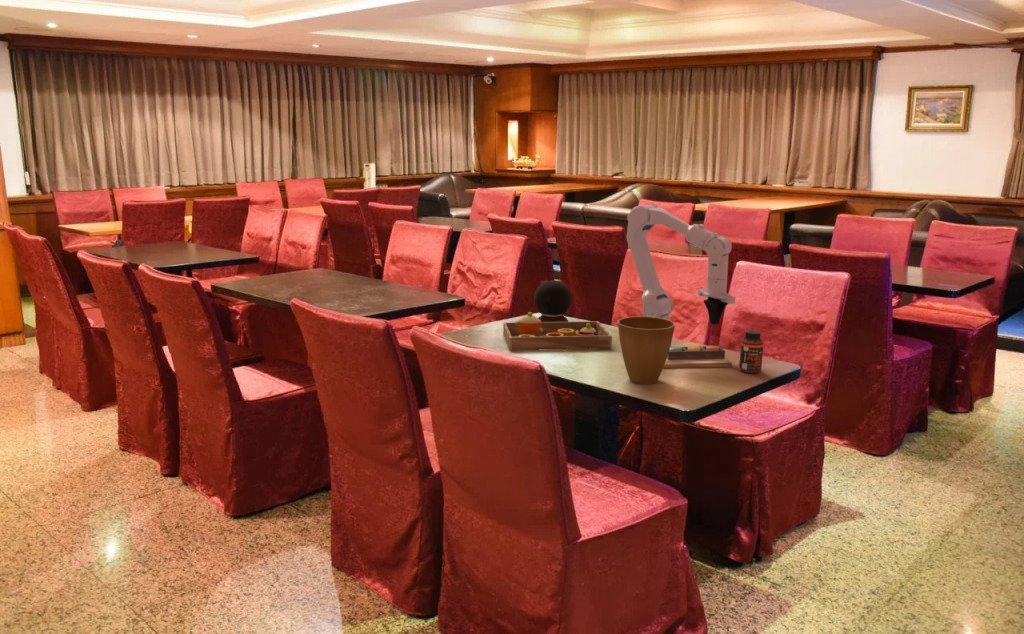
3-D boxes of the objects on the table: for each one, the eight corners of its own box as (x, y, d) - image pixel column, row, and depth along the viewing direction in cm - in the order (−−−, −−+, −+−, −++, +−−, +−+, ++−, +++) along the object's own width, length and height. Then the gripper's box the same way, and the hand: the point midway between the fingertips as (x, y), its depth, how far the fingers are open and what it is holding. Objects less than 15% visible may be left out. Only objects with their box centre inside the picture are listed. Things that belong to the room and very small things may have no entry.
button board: (650, 355, 250) (650, 343, 250) (715, 354, 252) (716, 342, 251) (662, 368, 237) (663, 355, 236) (731, 366, 239) (732, 354, 238)
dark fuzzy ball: (533, 318, 302) (534, 277, 299) (570, 319, 301) (571, 277, 298) (533, 326, 289) (533, 283, 286) (571, 327, 288) (572, 283, 285)
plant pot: (604, 380, 224) (606, 321, 221) (638, 370, 235) (640, 314, 231) (649, 392, 214) (652, 330, 211) (683, 381, 224) (686, 322, 221)
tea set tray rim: (503, 334, 276) (503, 322, 276) (597, 332, 279) (598, 321, 279) (509, 350, 255) (509, 337, 255) (611, 348, 258) (611, 336, 258)
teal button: (667, 354, 245) (667, 346, 245) (679, 354, 246) (679, 346, 245) (670, 358, 242) (671, 349, 241) (682, 357, 242) (683, 349, 242)
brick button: (703, 354, 246) (704, 345, 246) (715, 353, 247) (716, 345, 246) (707, 357, 243) (708, 348, 242) (720, 357, 243) (720, 348, 243)
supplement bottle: (746, 374, 230) (748, 334, 228) (735, 369, 236) (737, 330, 234) (765, 373, 232) (768, 333, 230) (753, 367, 238) (756, 328, 235)
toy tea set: (514, 350, 257) (514, 319, 255) (510, 339, 272) (510, 309, 270) (598, 349, 258) (599, 319, 256) (590, 338, 273) (591, 309, 271)
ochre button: (685, 354, 246) (686, 346, 245) (697, 354, 246) (698, 346, 246) (689, 357, 242) (689, 349, 242) (701, 357, 243) (701, 349, 242)
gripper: (690, 275, 250) (688, 320, 253) (722, 282, 237) (719, 329, 240) (709, 274, 253) (707, 318, 256) (741, 281, 240) (738, 327, 243)
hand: (714, 323), depth 248 cm, fingers closed
